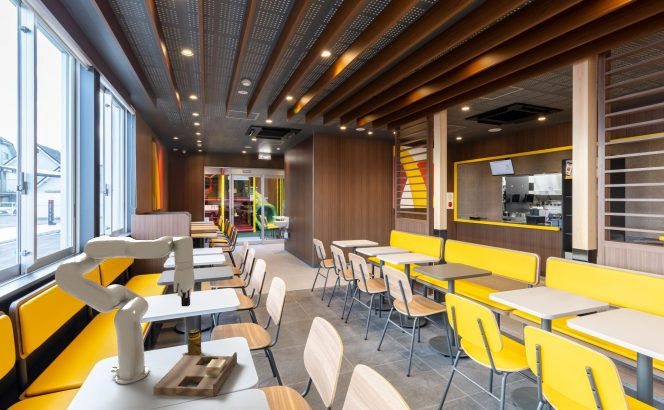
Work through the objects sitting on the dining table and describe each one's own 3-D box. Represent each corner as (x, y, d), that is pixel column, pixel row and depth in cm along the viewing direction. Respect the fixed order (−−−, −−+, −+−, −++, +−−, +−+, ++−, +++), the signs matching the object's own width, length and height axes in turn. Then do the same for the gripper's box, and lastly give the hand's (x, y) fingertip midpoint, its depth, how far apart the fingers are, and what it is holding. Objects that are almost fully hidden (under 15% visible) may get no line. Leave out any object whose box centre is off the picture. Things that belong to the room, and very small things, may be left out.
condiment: (203, 355, 159) (202, 331, 158) (184, 361, 154) (183, 336, 153) (200, 349, 165) (199, 326, 164) (182, 354, 160) (180, 330, 160)
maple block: (206, 375, 138) (206, 367, 137) (212, 367, 144) (212, 359, 143) (220, 375, 137) (220, 367, 137) (225, 367, 143) (225, 359, 143)
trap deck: (153, 394, 130) (153, 382, 130) (184, 361, 154) (184, 351, 153) (215, 396, 128) (215, 384, 128) (237, 362, 152) (236, 352, 152)
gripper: (184, 260, 152) (186, 299, 153) (166, 269, 137) (168, 312, 138) (200, 260, 151) (201, 299, 153) (183, 269, 136) (185, 312, 138)
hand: (185, 305), depth 145 cm, fingers closed
